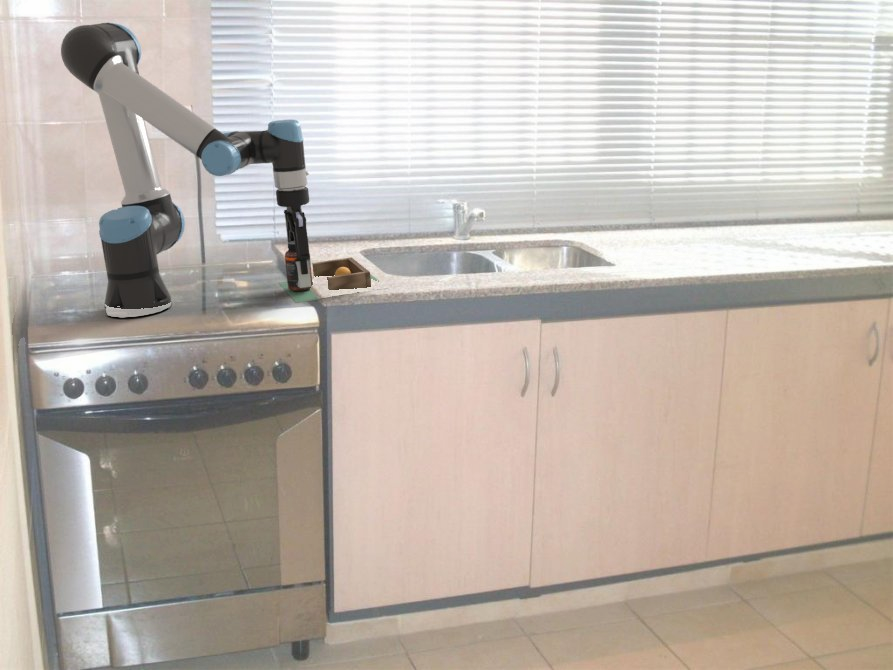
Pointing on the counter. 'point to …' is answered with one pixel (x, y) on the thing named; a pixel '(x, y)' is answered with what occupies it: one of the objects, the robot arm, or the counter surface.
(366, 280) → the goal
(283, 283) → the pitch mat
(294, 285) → the supplement bottle
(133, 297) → the robot arm
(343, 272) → the ball
